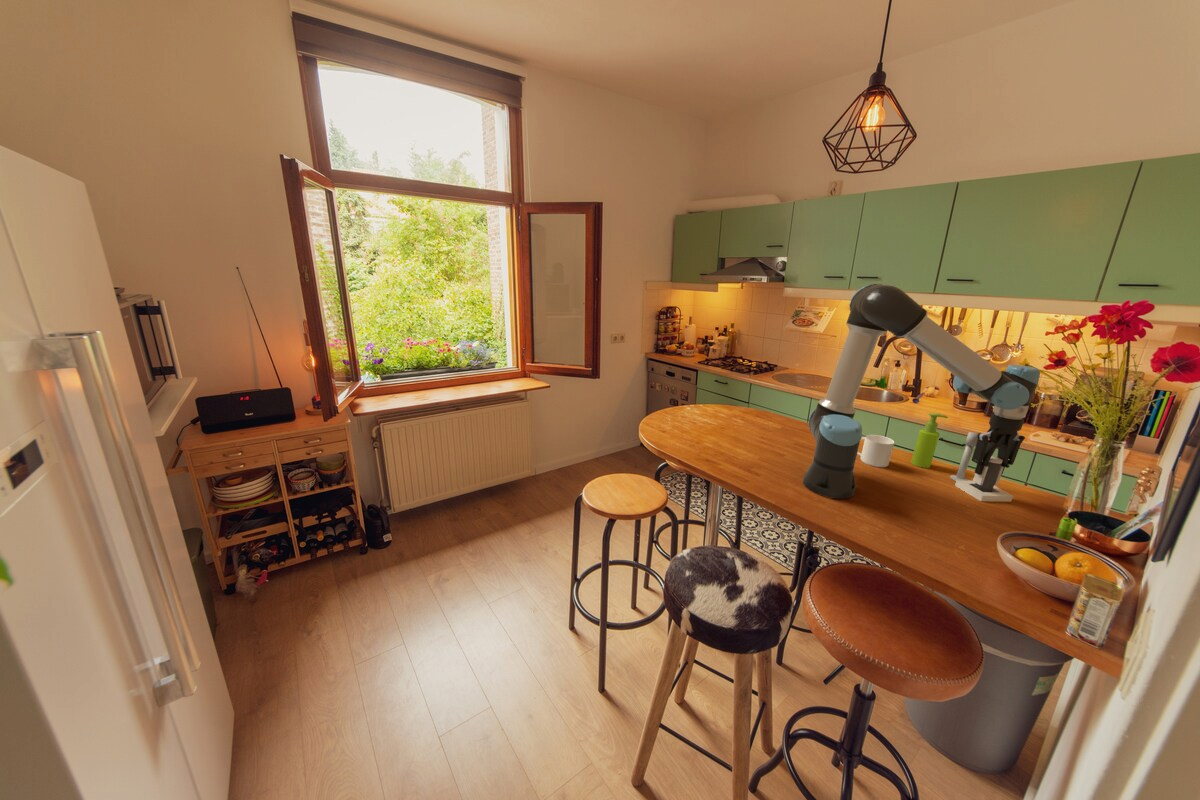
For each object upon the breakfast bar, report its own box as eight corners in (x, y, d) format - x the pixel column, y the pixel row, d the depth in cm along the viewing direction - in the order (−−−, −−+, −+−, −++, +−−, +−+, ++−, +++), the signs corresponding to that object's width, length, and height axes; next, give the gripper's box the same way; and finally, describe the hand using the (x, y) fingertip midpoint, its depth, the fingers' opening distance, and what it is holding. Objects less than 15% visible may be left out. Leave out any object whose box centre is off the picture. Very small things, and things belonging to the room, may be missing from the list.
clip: (1018, 452, 139) (1022, 441, 138) (967, 445, 144) (970, 434, 143) (1014, 449, 142) (1017, 437, 141) (963, 442, 146) (966, 431, 145)
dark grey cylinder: (981, 495, 138) (993, 461, 134) (969, 488, 142) (980, 455, 138) (994, 495, 138) (1006, 461, 134) (982, 488, 142) (993, 455, 139)
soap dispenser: (936, 469, 157) (951, 417, 151) (915, 467, 158) (929, 415, 152) (928, 462, 162) (942, 412, 156) (908, 460, 163) (921, 410, 157)
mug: (893, 464, 159) (899, 441, 157) (880, 469, 155) (886, 445, 152) (860, 452, 169) (865, 430, 166) (847, 457, 165) (852, 434, 162)
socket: (980, 501, 135) (993, 463, 131) (941, 477, 150) (951, 443, 146) (1011, 501, 136) (1024, 464, 132) (968, 477, 151) (979, 443, 147)
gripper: (992, 419, 128) (969, 488, 135) (1047, 420, 129) (1021, 489, 136) (970, 410, 135) (949, 477, 142) (1023, 412, 136) (999, 478, 143)
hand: (984, 483), depth 139 cm, fingers closed on dark grey cylinder, 4 cm apart
